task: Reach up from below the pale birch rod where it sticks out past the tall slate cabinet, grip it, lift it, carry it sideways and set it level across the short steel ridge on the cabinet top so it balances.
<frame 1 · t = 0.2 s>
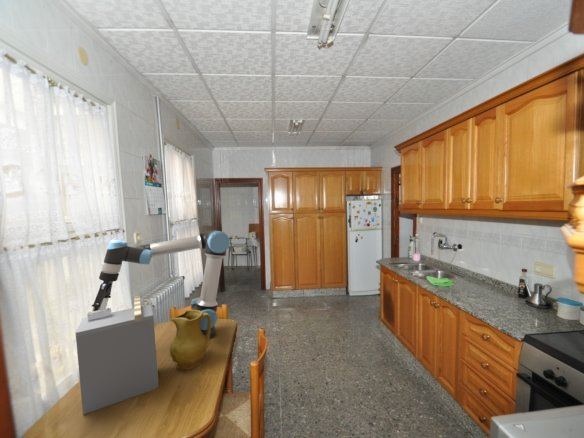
hand: (97, 315, 126), 28 cm above the table, tool tilted 20°, fingers open, 13 cm apart
rod: (137, 309, 120), point 32 cm above the table, touching stand
pitcher: (191, 363, 132), on the table
stand: (123, 389, 114), on the table
ridge: (100, 317, 113), resting on stand
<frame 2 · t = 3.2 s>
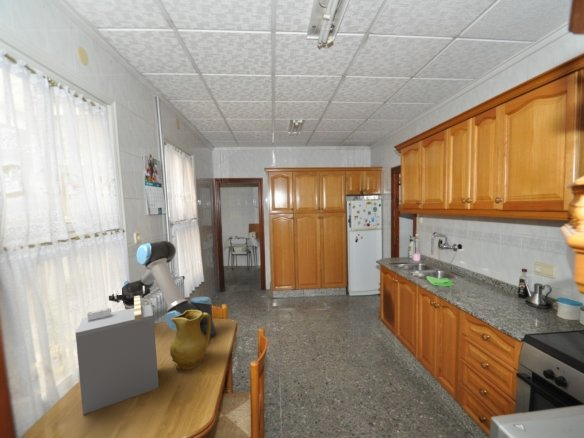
hand: (129, 290, 145), 34 cm above the table, tool pointing upward, fingers open, 13 cm apart
nothing on the table moved.
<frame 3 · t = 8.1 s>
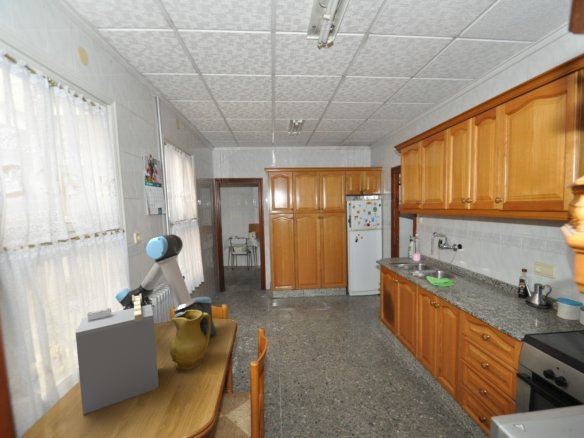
hand: (136, 297, 126), 36 cm above the table, tool pointing upward, fingers closed on rod, 2 cm apart
rod: (137, 309, 120), point 32 cm above the table, touching gripper, stand
everything else where it was.
when the fingers open (40 cm above the table, at t = 12.3 s): rod stays where it is, resting on ridge.
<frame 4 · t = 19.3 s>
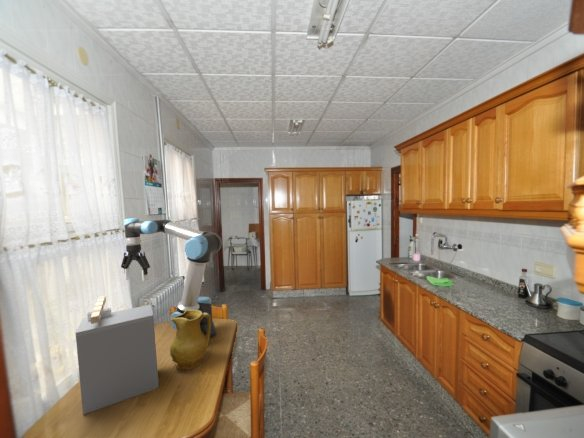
hand: (136, 279, 157), 37 cm above the table, tool pointing down, fingers open, 13 cm apart
rod: (99, 310, 113), point 35 cm above the table, touching ridge
everything else where it was.
at the end: rod touching ridge; rod tilted 0° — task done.
